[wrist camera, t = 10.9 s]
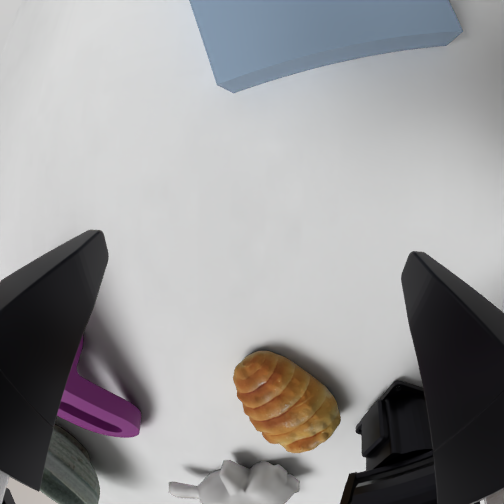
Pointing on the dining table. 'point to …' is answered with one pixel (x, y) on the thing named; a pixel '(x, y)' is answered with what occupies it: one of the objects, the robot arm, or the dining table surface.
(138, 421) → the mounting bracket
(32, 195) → the dining table surface
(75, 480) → the bowl
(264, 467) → the bunny figurine
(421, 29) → the blue square washer
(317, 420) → the pastry
